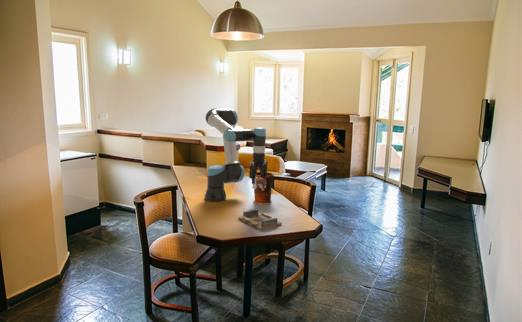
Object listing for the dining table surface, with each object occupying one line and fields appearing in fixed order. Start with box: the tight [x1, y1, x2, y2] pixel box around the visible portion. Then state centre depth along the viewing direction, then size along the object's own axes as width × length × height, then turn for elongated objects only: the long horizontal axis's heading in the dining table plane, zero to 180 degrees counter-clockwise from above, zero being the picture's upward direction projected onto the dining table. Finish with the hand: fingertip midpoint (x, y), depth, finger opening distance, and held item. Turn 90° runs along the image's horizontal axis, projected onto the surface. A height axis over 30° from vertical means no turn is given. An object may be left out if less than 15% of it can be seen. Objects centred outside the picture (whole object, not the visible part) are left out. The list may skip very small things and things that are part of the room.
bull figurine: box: [250, 177, 267, 191], centre depth 230 cm, size 4×13×8 cm, turn 50°
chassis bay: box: [237, 208, 283, 231], centre depth 212 cm, size 21×16×4 cm
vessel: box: [253, 171, 275, 205], centre depth 252 cm, size 14×14×20 cm
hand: (257, 188), depth 231 cm, fingers closed on bull figurine, 5 cm apart
